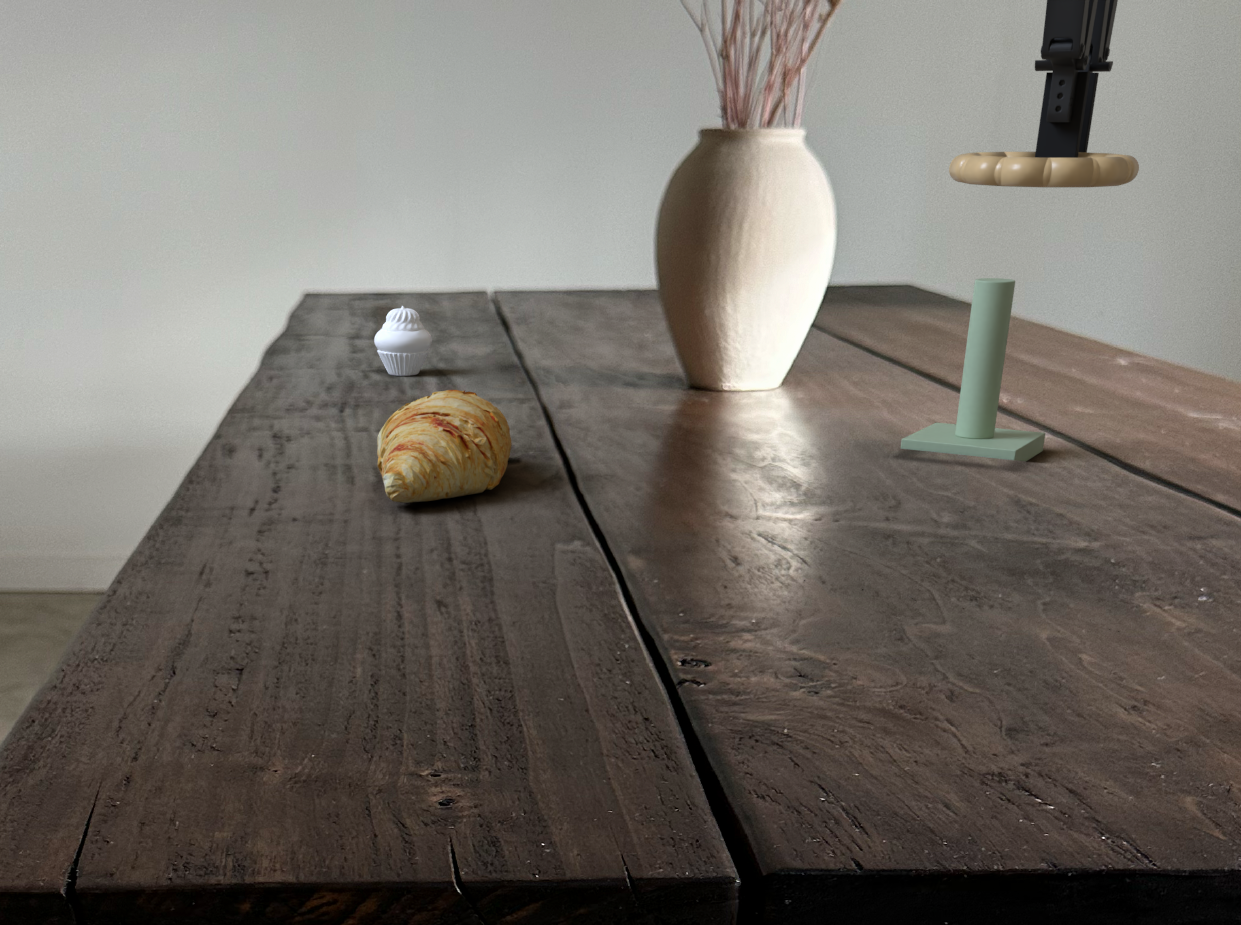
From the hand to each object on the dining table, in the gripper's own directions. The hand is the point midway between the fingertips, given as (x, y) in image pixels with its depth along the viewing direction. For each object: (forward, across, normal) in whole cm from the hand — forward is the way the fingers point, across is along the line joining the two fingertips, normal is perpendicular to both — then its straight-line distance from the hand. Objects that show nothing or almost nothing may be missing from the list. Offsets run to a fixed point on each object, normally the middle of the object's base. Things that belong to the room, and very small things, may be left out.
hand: (1058, 173), depth 112 cm
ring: (0, +5, 0) cm, 5 cm away
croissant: (+22, +25, -36) cm, 49 cm away
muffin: (+22, -21, -69) cm, 75 cm away
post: (+21, -8, -5) cm, 23 cm away
